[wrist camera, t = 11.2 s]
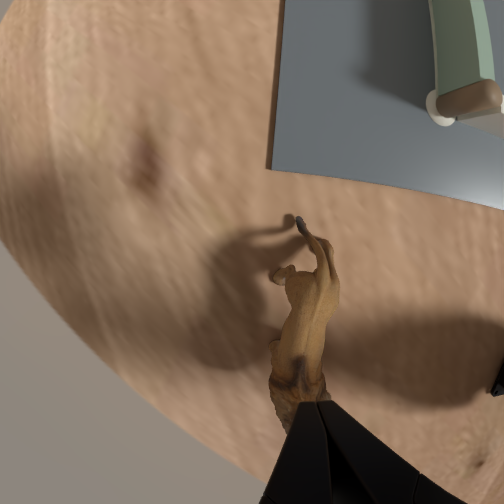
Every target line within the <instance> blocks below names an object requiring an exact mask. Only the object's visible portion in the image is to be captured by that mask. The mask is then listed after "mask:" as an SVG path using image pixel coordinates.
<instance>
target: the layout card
mask: <svg viewBox="0 0 504 504" xmlns="http://www.w3.org/2000/svg"><path fill="white" fill-rule="evenodd" d="M483 2H484V6H485V11H486V16H487V21H488V27H489V33H490V40H491V47H492V55H493V63H494V74H495V82H496V83H497V84H498V86H499V87H500V89H501V92H502V94H503V95H504V0H483ZM437 98H438V64H437V46H436V33H435V23H434V14H433V6H432V0H285V11H284V24H283V37H282V50H281V62H280V75H279V87H278V98H277V110H276V122H275V133H274V145H273V156H272V167H271V170H276V171H285V172H295V173H303V174H312V175H320V176H328V177H335V178H342V179H349V180H356V181H363V182H369V183H376V184H382V185H388V186H394V187H399V188H405V189H410V190H416V191H421V192H426V193H431V194H436V195H441V196H446V197H451V198H455V199H460V200H464V201H469V202H473V203H477V204H481V205H486V206H490V207H494V208H498V209H502V210H504V139H503V138H500V137H498V136H495V135H493V134H490V133H488V132H485V131H483V130H480V129H478V128H475V127H472V126H469V125H467V124H464V123H461V122H458V121H457V120H458V116H455V117H451V118H444V117H443V116H441V115H440V114H439V112H438V111H437V108H436V99H437Z"/></svg>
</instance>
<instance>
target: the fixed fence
mask: <svg viewBox="0 0 504 504" xmlns="http://www.w3.org/2000/svg"><path fill="white" fill-rule="evenodd" d="M502 96H503V101H502V104H501V106H499V107H496V108H491V109H486V110H482V111H477V112H473V113H468V114H464V115H460V116H458V120H457V121H458V122H461V123H464V124H467V125H469V126H472V127H475V128H478V129H480V130H483V131H485V132H488V133H490V134H493V135H495V136H498V137H500V138H503V139H504V95H503V94H502Z"/></svg>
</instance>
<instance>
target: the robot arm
mask: <svg viewBox="0 0 504 504" xmlns="http://www.w3.org/2000/svg"><path fill="white" fill-rule="evenodd" d="M503 394H504V364H503V366H502V368H501V371H500V373H499V375H498V378H497V380H496V382H495V384H494V386H493V389H492V391H491V395H492V396H493V397H495V396H499V395H503ZM419 474H420V472H419V471H418V470H417V469H415V468H414V467H413V466H412V465H410V464H409V463H408V462H407V461H405V460H404V459H403V458H402V457H400V456H399V455H398V454H397V453H395V452H394V451H393V450H392V449H390V448H389V447H388V446H387V445H385V444H384V443H383V442H382V441H380V440H379V439H378V438H377V437H376V436H374V435H373V434H372V433H371V432H370V431H368V430H367V429H366V428H365V427H364V426H362V425H361V424H360V423H359V422H358V421H356V420H355V419H354V418H353V417H352V416H351V415H349V414H348V413H347V412H346V411H345V410H343V409H342V408H341V407H340V406H339V405H338V404H337V403H335V402H334V401H333V400H320V401H317V402H314V401H302V402H299V404H298V407H297V409H296V412H295V415H294V418H293V421H292V423H291V426H290V429H289V431H288V434H287V437H286V439H285V442H284V444H283V447H282V450H281V452H280V455H279V457H278V460H277V462H276V465H275V467H274V470H273V472H272V474H271V477H270V479H269V482H268V484H267V486H266V489H265V491H264V493H263V496H262V497H261V499H260V502H259V504H467V503H466V502H464V501H462V500H460V499H459V498H457V497H455V496H454V495H452V494H450V493H449V492H447V491H445V490H444V489H443V488H441V487H440V486H438V485H437V484H435V483H434V482H433V481H431V480H430V479H429V478H427V477H426V476H425V475H423V474H420V475H419Z"/></svg>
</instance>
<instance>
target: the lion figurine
mask: <svg viewBox="0 0 504 504" xmlns="http://www.w3.org/2000/svg"><path fill="white" fill-rule="evenodd" d="M296 224H297V227H298V230H299V232H300V233H301V234H302V235H303V236H304V237H305V239H306V240H307V241H308V242H309V243H310V245H311V246H312V248H313V250H314V252H315V255H316V258H317V269H315V270H314V272H313V273H311V272H307V271H298V272H296V270H295V266H294V265H289V266H287V267H285V268H282V269H280V270H278V271H277V272H276V273H275V274H274V277H273V280H274V282H275V284H277V285H282V286H284V285H285V291H286V294H287V297H288V300H289V302H290V304H291V306H292V310H291V312H290V314H289V316H288V318H287V320H286V322H285V324H284V326H283V329H282V334H281V339H280V341H279V340H275V341H273V342H271V343H270V344H269V350H270V351H271V352H272V358H271V364H272V373H271V375H270V378H269V389H270V397H271V400H272V402H273V403H274V405H275V410H276V415H277V416H278V418H279V419H280V421H281V423H282V426H283V428H284V429H285V432H286V434H288V431H289V429H290V426H291V423H292V421H293V418H294V415H295V412H296V409H297V407H298V404H299V402H302V401H314V402H317V401H320V400H331V395H330V394H329V393H328V392H327V390H326V382H325V377H324V374H323V373H322V362H321V357H322V354H323V350H324V343H325V328H326V324H327V322H328V321H329V319H330V318H331V316H332V315H333V313H334V312H335V310H336V308H337V306H338V303H339V292H340V283H339V278H338V276H337V273H336V270H335V267H334V262H333V254H334V250H333V247H332V246H331V244H330V243H329V241H328V240H326V239H320V240H319V241H317V240H316V239H315V238H314V237H313V236H312V234H311V233H310V232H309V231H308V230H307V228H306V224H305V223H304V221H303V219H302V218H301V217H300V216H297V217H296Z"/></svg>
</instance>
